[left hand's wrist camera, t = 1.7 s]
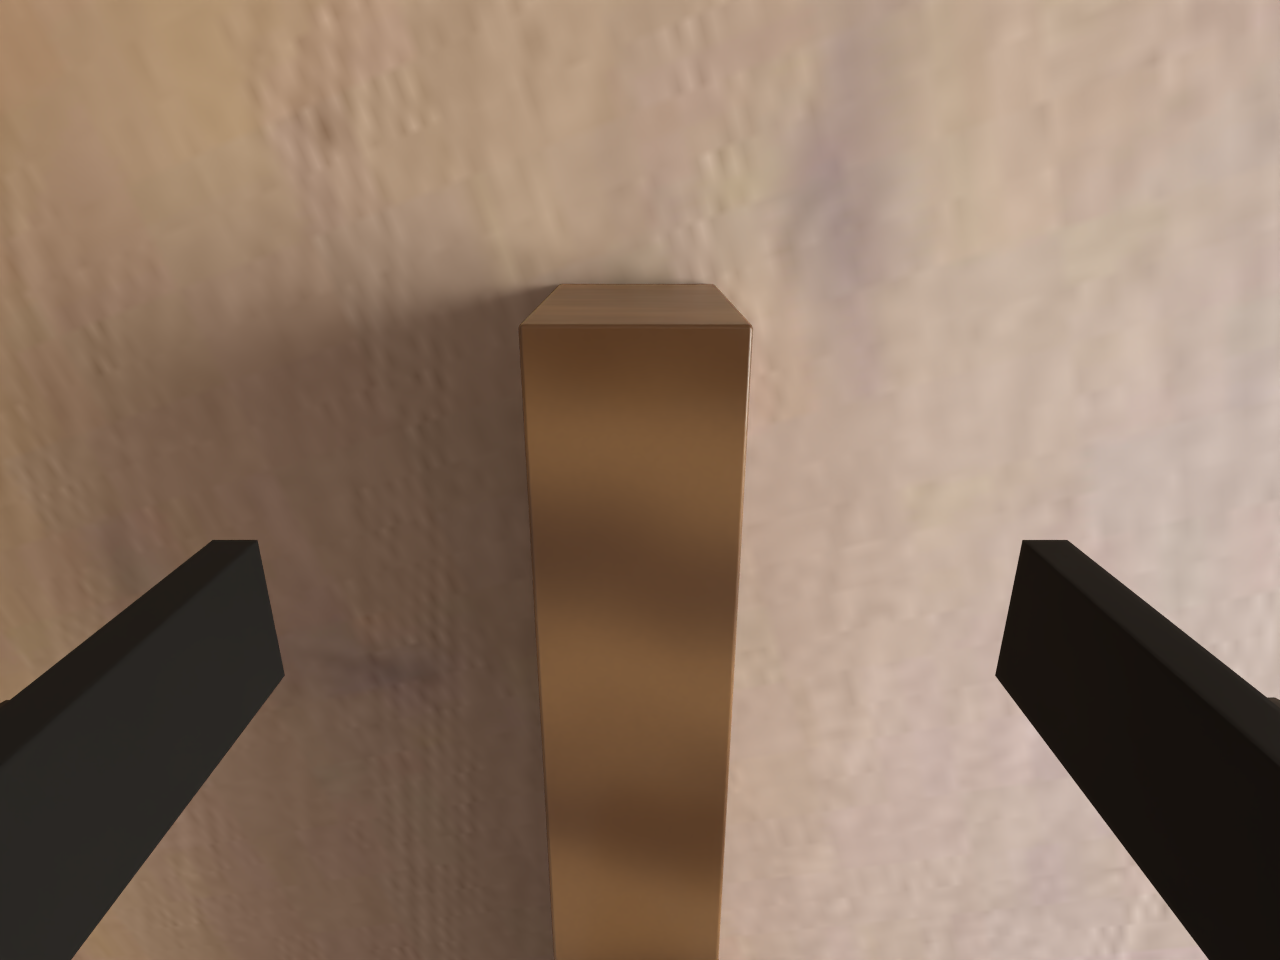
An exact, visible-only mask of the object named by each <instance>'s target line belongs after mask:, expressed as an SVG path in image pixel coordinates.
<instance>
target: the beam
mask: <svg viewBox="0 0 1280 960" xmlns="http://www.w3.org/2000/svg"><path fill="white" fill-rule="evenodd" d="M752 335H753V328H752V325H751V324H750V323H749V322H748V321H747V320H746V319H745V318H744V317H743V315H742V314H741V313H740V312H739V311H738V310H737V309H736V308H735V307H734V306H733V304H732V303H731V302H730V301H729V300H728V299H727V298H726V297H725V296H724V295H723V294H722V292H721V291H720V290H719V289H718V288H717V287H716V286H715V285H713V284H560V285H559V286H558V287H557V288H556V289H555V290H554V291H553V292H552V293H551V294H550V295H549V296H548V297H547V298H546V299H545V300H544V301H543V302H542V303H541V304H540V305H539V306H538V307H537V308H536V309H535V310H534V311H533V312H532V313H531V314H530V315H529V316H528V317H527V318H526V319H525V320H524V321H523V322H522V323H521V324H520V326H519V345H520V363H521V380H522V398H523V416H524V434H525V451H526V469H527V487H528V505H529V523H530V540H531V558H532V576H533V594H534V611H535V629H536V647H537V665H538V683H539V700H540V718H541V736H542V754H543V772H544V789H545V807H546V825H547V843H548V860H549V878H550V896H551V914H552V932H553V949H554V960H718V955H719V937H720V918H721V900H722V882H723V864H724V846H725V827H726V809H727V791H728V773H729V754H730V736H731V718H732V700H733V681H734V663H735V645H736V627H737V609H738V590H739V572H740V554H741V536H742V517H743V499H744V481H745V463H746V444H747V426H748V408H749V390H750V372H751V353H752Z"/></svg>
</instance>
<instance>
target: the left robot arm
mask: <svg viewBox="0 0 1280 960" xmlns="http://www.w3.org/2000/svg"><path fill="white" fill-rule="evenodd" d="M284 676H285V674H284V670H283V665H282V660H281V655H280V650H279V645H278V640H277V635H276V630H275V625H274V620H273V615H272V610H271V605H270V600H269V595H268V590H267V585H266V580H265V575H264V570H263V565H262V560H261V556H260V551H259V546H258V541H257V540H212V541H211V542H210V543H208V544H207V545H206V546H205V547H203V548H202V549H201V550H200V551H198V552H197V553H196V554H194V555H193V556H192V557H191V558H189V559H188V560H187V561H186V562H184V563H183V564H182V565H181V566H179V567H178V568H177V569H175V570H174V571H173V572H172V573H170V574H169V575H168V576H167V577H165V578H164V579H163V580H162V581H160V582H159V583H158V584H156V585H155V586H154V587H153V588H151V589H150V590H149V591H148V592H146V593H145V594H144V595H143V596H141V597H140V598H139V599H137V600H136V601H135V602H134V603H132V604H131V605H130V606H129V607H127V608H126V609H125V610H124V611H122V612H121V613H120V614H118V615H117V616H116V617H115V618H113V619H112V620H111V621H110V622H108V623H107V624H106V625H105V626H103V627H102V628H101V629H99V630H98V631H97V632H96V633H94V634H93V635H92V636H91V637H89V638H88V639H87V640H86V641H84V642H83V643H82V644H80V645H79V646H78V647H77V648H75V649H74V650H73V651H72V652H70V653H69V654H68V655H67V656H65V657H64V658H63V659H61V660H60V661H59V662H58V663H56V664H55V665H54V666H53V667H51V668H50V669H49V670H47V671H46V672H45V673H44V674H42V675H41V676H40V677H39V678H37V679H36V680H35V681H34V682H32V683H31V684H30V685H28V686H27V687H26V688H25V689H23V690H22V691H21V692H20V693H18V694H17V695H16V696H15V697H13V698H12V699H11V700H5V701H4V702H2V703H0V960H71V959H72V958H73V956H74V955H75V954H76V952H77V951H78V950H79V948H80V947H81V946H82V944H83V943H84V942H85V940H86V939H87V938H88V936H89V935H90V934H91V932H92V931H93V930H94V929H95V927H96V926H97V925H98V923H99V922H100V921H101V919H102V918H103V917H104V915H105V914H106V913H107V911H108V910H109V909H110V907H111V906H112V905H113V903H114V902H115V901H116V899H117V898H118V897H119V895H120V894H121V893H122V891H123V890H124V889H125V887H126V886H127V885H128V883H129V882H130V881H131V879H132V878H133V877H134V875H135V874H136V873H137V871H138V870H139V869H140V867H141V866H142V865H143V863H144V862H145V861H146V859H147V858H148V857H149V855H150V854H151V853H152V851H153V850H154V849H155V847H156V846H157V845H158V843H159V842H160V841H161V839H162V838H163V837H164V835H165V834H166V833H167V831H168V830H169V829H170V827H171V826H172V825H173V823H174V822H175V821H176V819H177V818H178V817H179V815H180V814H181V813H182V811H183V810H184V809H185V807H186V806H187V805H188V803H189V802H190V801H191V799H192V798H193V797H194V796H195V794H196V793H197V792H198V790H199V789H200V788H201V786H202V785H203V784H204V782H205V781H206V780H207V778H208V777H209V776H210V774H211V773H212V772H213V770H214V769H215V768H216V766H217V765H218V764H219V762H220V761H221V760H222V758H223V757H224V756H225V754H226V753H227V752H228V750H229V749H230V748H231V746H232V745H233V744H234V742H235V741H236V740H237V738H238V737H239V736H240V734H241V733H242V732H243V730H244V729H245V728H246V726H247V725H248V724H249V722H250V721H251V720H252V718H253V717H254V716H255V714H256V713H257V712H258V710H259V709H260V708H261V706H262V705H263V704H264V702H265V701H266V700H267V698H268V697H269V696H270V694H271V693H272V692H273V690H274V689H275V688H276V686H277V685H278V684H279V682H280V681H281V680H282V678H283V677H284ZM995 676H996V677H997V678H998V680H999V681H1000V682H1001V684H1002V685H1003V686H1004V688H1005V689H1006V690H1007V692H1008V693H1009V694H1010V696H1011V697H1012V698H1013V700H1014V701H1015V702H1016V704H1017V705H1018V706H1019V708H1020V709H1021V710H1022V712H1023V713H1024V714H1025V716H1026V717H1027V718H1028V720H1029V721H1030V722H1031V724H1032V725H1033V726H1034V728H1035V729H1036V730H1037V732H1038V733H1039V734H1040V736H1041V737H1042V738H1043V740H1044V741H1045V742H1046V744H1047V745H1048V746H1049V748H1050V749H1051V750H1052V752H1053V753H1054V754H1055V756H1056V757H1057V758H1058V760H1059V761H1060V762H1061V764H1062V765H1063V766H1064V768H1065V769H1066V770H1067V772H1068V773H1069V774H1070V776H1071V777H1072V778H1073V780H1074V781H1075V782H1076V784H1077V785H1078V786H1079V788H1080V789H1081V790H1082V792H1083V793H1084V794H1085V796H1086V797H1087V798H1088V799H1089V801H1090V802H1091V803H1092V805H1093V806H1094V807H1095V809H1096V810H1097V811H1098V813H1099V814H1100V815H1101V817H1102V818H1103V819H1104V821H1105V822H1106V823H1107V825H1108V826H1109V827H1110V829H1111V830H1112V831H1113V833H1114V834H1115V835H1116V837H1117V838H1118V839H1119V841H1120V842H1121V843H1122V845H1123V846H1124V847H1125V849H1126V850H1127V851H1128V853H1129V854H1130V855H1131V857H1132V858H1133V859H1134V861H1135V862H1136V863H1137V865H1138V866H1139V867H1140V869H1141V870H1142V871H1143V873H1144V874H1145V875H1146V877H1147V878H1148V879H1149V881H1150V882H1151V883H1152V885H1153V886H1154V887H1155V889H1156V890H1157V891H1158V893H1159V894H1160V895H1161V897H1162V898H1163V899H1164V901H1165V902H1166V903H1167V905H1168V906H1169V907H1170V909H1171V910H1172V911H1173V913H1174V914H1175V915H1176V917H1177V918H1178V919H1179V921H1180V922H1181V923H1182V925H1183V926H1184V927H1185V929H1186V930H1187V931H1188V932H1189V934H1190V935H1191V936H1192V938H1193V939H1194V940H1195V942H1196V943H1197V944H1198V946H1199V947H1200V948H1201V950H1202V951H1203V952H1204V954H1205V955H1206V956H1207V958H1208V959H1209V960H1280V700H1279V699H1277V698H1267V697H1265V696H1264V695H1263V694H1262V693H1260V692H1259V691H1258V690H1257V689H1255V688H1254V687H1253V686H1252V685H1250V684H1249V683H1248V682H1246V681H1245V680H1244V679H1243V678H1241V677H1240V676H1239V675H1238V674H1236V673H1235V672H1234V671H1233V670H1231V669H1230V668H1229V667H1227V666H1226V665H1225V664H1224V663H1222V662H1221V661H1220V660H1219V659H1217V658H1216V657H1215V656H1213V655H1212V654H1211V653H1210V652H1208V651H1207V650H1206V649H1205V648H1203V647H1202V646H1201V645H1200V644H1198V643H1197V642H1196V641H1194V640H1193V639H1192V638H1191V637H1189V636H1188V635H1187V634H1186V633H1184V632H1183V631H1182V630H1181V629H1179V628H1178V627H1177V626H1175V625H1174V624H1173V623H1172V622H1170V621H1169V620H1168V619H1167V618H1165V617H1164V616H1163V615H1162V614H1160V613H1159V612H1158V611H1156V610H1155V609H1154V608H1153V607H1151V606H1150V605H1149V604H1148V603H1146V602H1145V601H1144V600H1143V599H1141V598H1140V597H1139V596H1137V595H1136V594H1135V593H1134V592H1132V591H1131V590H1130V589H1129V588H1127V587H1126V586H1125V585H1124V584H1122V583H1121V582H1120V581H1118V580H1117V579H1116V578H1115V577H1113V576H1112V575H1111V574H1110V573H1108V572H1107V571H1106V570H1105V569H1103V568H1102V567H1101V566H1099V565H1098V564H1097V563H1096V562H1094V561H1093V560H1092V559H1091V558H1089V557H1088V556H1087V555H1085V554H1084V553H1083V552H1082V551H1080V550H1079V549H1078V548H1077V547H1075V546H1074V545H1073V544H1072V543H1070V542H1069V541H1068V540H1023V541H1022V546H1021V551H1020V556H1019V560H1018V565H1017V570H1016V575H1015V580H1014V585H1013V590H1012V595H1011V600H1010V605H1009V610H1008V615H1007V620H1006V625H1005V630H1004V635H1003V640H1002V645H1001V650H1000V655H999V660H998V665H997V669H996V674H995Z"/></svg>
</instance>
